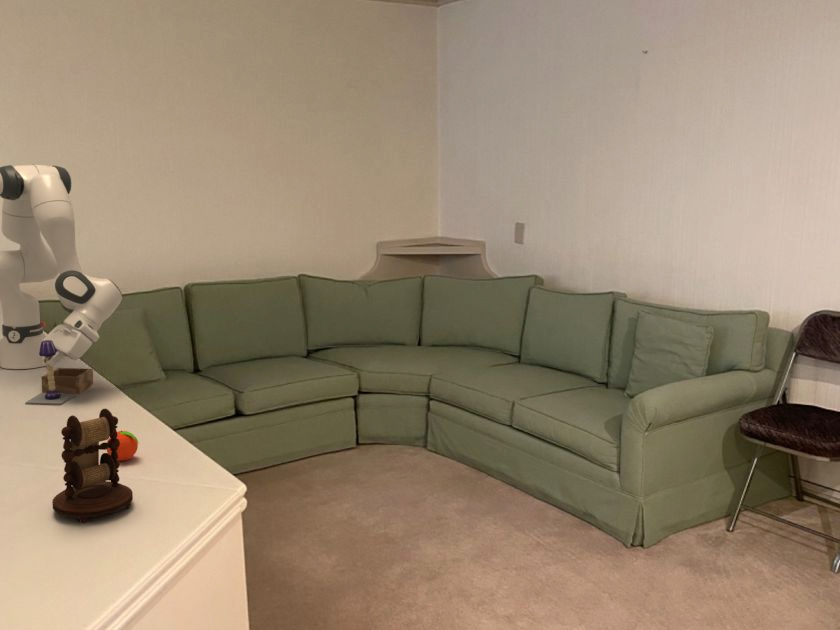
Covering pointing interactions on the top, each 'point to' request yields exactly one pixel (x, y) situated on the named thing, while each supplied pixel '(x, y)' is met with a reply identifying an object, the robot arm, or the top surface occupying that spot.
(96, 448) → the brown wooden spool rack
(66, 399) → the slate mat
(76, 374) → the walnut crate
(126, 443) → the clementine
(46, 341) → the toy lamp
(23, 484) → the top surface
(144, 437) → the top surface
